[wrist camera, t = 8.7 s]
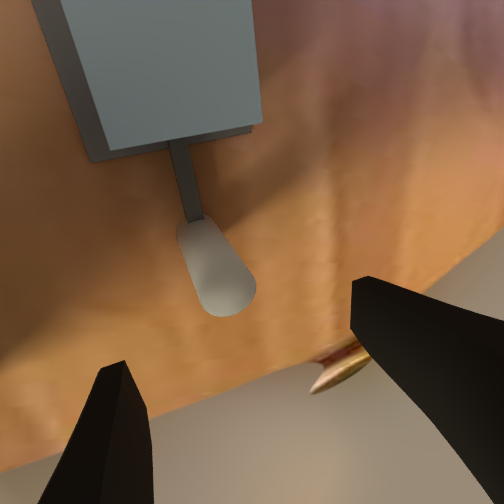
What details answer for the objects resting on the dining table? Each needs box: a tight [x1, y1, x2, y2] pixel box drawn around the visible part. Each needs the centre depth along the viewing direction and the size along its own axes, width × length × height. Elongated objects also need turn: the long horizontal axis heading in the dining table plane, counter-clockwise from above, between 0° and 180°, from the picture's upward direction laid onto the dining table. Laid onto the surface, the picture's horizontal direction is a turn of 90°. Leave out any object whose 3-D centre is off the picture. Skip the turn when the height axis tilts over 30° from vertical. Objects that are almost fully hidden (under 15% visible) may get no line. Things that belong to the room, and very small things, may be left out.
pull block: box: [60, 0, 263, 317], centre depth 12 cm, size 12×5×6 cm, turn 7°
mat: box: [31, 0, 252, 163], centre depth 13 cm, size 7×8×1 cm
